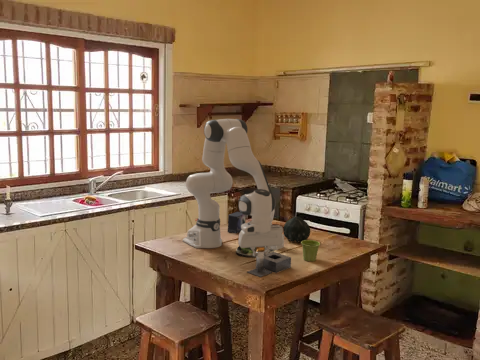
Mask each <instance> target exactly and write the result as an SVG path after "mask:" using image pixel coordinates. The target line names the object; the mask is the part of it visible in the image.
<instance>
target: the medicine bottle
mask: <svg viewBox="0 0 480 360" xmlns="http://www.w3.org/2000/svg"><path fill="white" fill-rule="evenodd" d="M282 239H283V243H282V245H280V246H270V249H272V250H275V251H277V250H281V249H282V248H283V249H284V248H285V236H284V233H282Z"/></svg>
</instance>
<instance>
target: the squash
mask: <svg viewBox="0 0 480 360" xmlns="http://www.w3.org/2000/svg"><path fill="white" fill-rule="evenodd" d="M282 234H284V238H286V239H287V240H289V241H290V242H292V243H293V242H296V243H301V242H302V241H304V240H308V238H309V236H310V234H311V227H310V225H309V224H308V222H307V221H305V219H304V218H301V217H300V216H293V217H292V218H290V219H288V220H286V221H285V223H284V225H283V233H282Z"/></svg>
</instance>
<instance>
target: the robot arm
mask: <svg viewBox="0 0 480 360" xmlns="http://www.w3.org/2000/svg"><path fill="white" fill-rule="evenodd" d="M203 134H204V137H205V138H204V143H203V150H202V157H201V161H202V164H203V165H204V166H205V167H208V168H209V169H210V171H209V172H198V173H193V174H190V175H188V177H187V178H186V180H185V187H186V190H187V191H188V193H190V195H192V196H193V197H194V198H195V200H196V201H197V202H196V203H197V205H198V217H197V218H196V219H194V220H195V222H196V224H194V225H193V226H192V227H191V228H189V229H188V230H187V235H186V237H184V238H182V242H184V243H185V244H187V245H190V246H191V247H193V248H195V249H201V248H202V249H214V248H215V249H216V248H219V247H221V246H222V244H223V243H222V241H223V239H222V237H221V227H220V226H221V219H220V212H221V211H220V207H221V206H220V204H219V202H218V201H217V200H215V199H213V198H212V196H211V194H215V193H216V194H217V193H224V192H227V191H229V190H231V189H232V187H233V183H234V182H233V180H234V179H233V177H232V175H231V174H230V173H229V172H228V171H227V170H226V168H225V167H226V166H225V154H226V149H227V154H228V159H229V161H230V164H231V165H232V166H233V167H234V168H236V169H238V170H240V171H243V172H246V173H248V174H250V176H252V177H253V180H254V182H255V184H256V188H257V189H255V190H253V192H250V193H245V194H242V195H241V196H240V198H239V199H238V202H237V206H238V207H237V208H238V210H239V212H241V213H242V214H244V215H246V216H251V220H250V221H248V222H245V224H242V225H241V229H242V230H241V231H240V232H239V233H238V242H237V243H238V247H239V246H240V247H241V248H249V247H251V249H252V251H253V256H257V252H255V251H254V249H255V247H264V246H265V247H266V250H265V251H264V256H267V254H268V251H269V249H270V246H280V245H282V243H283V239H282V234H284V233H283V229H284V227H283V226H282V225H280V224H272V225H271V212H272V211H273V210H274V209H275V207H276V206H277V200H276V198H275V196H274V193H273V192H272V189H271V187H270V185H269V181H268V179H267V176H266V173H265V171H264V168H263V166H262V163H261V162H260V160H258V159H257V158H256V156H255V155H254V152H253V151H252V146H251V142H250V138H249V136H248V125H247V122H245V121H244V119H243V120H242V119H239V118H235V119H234V118H223V119H222V118H221V119H211V120H208V121H207V122H206V123H205V125H204V127H203Z"/></svg>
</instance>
